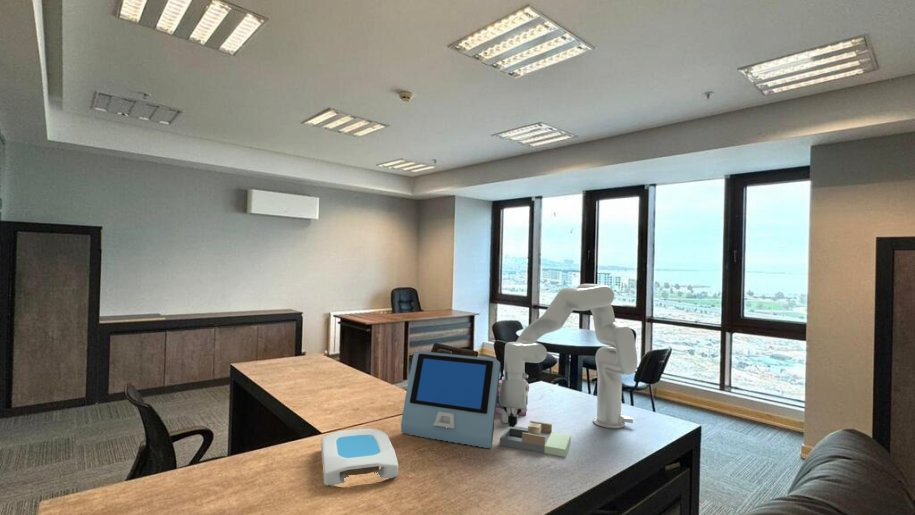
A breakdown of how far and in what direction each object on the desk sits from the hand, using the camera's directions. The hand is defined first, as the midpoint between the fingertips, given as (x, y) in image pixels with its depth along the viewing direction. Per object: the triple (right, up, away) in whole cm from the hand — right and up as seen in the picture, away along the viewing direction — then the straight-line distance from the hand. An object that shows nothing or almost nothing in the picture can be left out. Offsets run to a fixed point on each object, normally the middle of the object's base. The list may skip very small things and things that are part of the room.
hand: (512, 425), depth 161 cm
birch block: (+8, -3, -3) cm, 9 cm away
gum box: (-1, -6, +32) cm, 33 cm away
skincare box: (+1, -6, +19) cm, 20 cm away
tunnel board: (+8, -5, -3) cm, 10 cm away
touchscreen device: (-22, -5, +4) cm, 23 cm away
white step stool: (-52, -4, -23) cm, 57 cm away
